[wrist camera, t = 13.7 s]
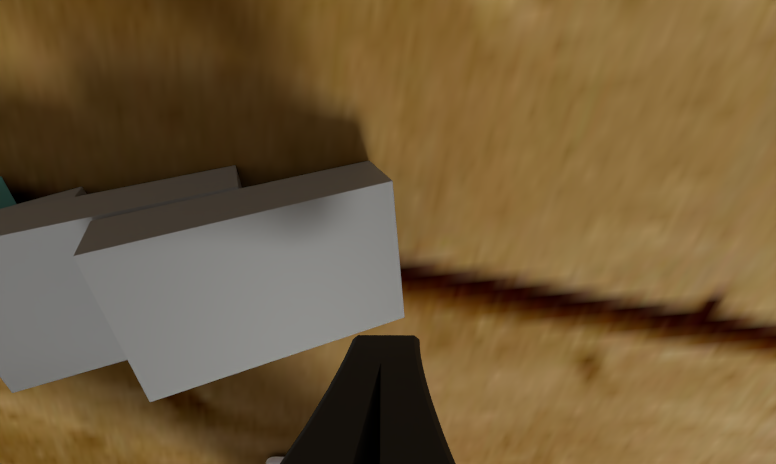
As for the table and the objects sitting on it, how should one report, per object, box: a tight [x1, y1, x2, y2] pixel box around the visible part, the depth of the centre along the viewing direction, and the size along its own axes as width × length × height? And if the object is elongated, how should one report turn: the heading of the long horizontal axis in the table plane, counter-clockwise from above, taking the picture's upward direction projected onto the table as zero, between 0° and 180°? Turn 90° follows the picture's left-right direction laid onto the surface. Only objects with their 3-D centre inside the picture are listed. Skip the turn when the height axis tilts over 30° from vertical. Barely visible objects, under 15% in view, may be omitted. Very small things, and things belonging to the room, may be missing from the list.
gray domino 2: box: [73, 161, 404, 402], centre depth 13 cm, size 2×5×8 cm
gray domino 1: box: [0, 165, 242, 393], centre depth 14 cm, size 2×5×8 cm
